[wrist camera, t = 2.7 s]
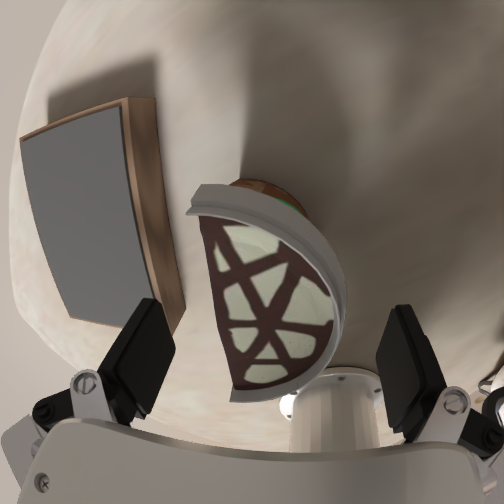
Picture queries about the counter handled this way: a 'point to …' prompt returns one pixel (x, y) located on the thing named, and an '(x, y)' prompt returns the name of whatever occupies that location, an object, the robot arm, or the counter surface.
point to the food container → (269, 287)
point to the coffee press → (494, 398)
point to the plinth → (104, 211)
